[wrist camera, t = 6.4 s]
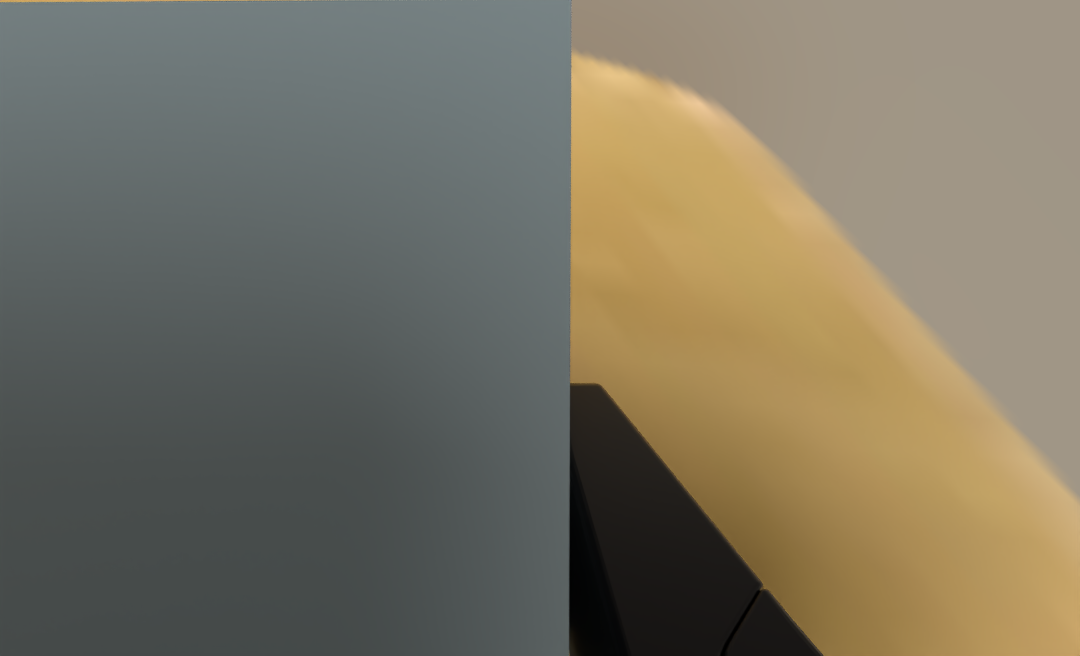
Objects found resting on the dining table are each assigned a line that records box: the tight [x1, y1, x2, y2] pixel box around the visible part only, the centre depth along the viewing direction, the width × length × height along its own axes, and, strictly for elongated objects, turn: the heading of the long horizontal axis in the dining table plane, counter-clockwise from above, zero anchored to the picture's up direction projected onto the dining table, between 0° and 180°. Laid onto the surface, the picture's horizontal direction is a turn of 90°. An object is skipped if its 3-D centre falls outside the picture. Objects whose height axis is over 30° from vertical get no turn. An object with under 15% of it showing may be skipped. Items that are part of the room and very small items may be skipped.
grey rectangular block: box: [0, 0, 571, 656], centre depth 9 cm, size 5×4×12 cm
